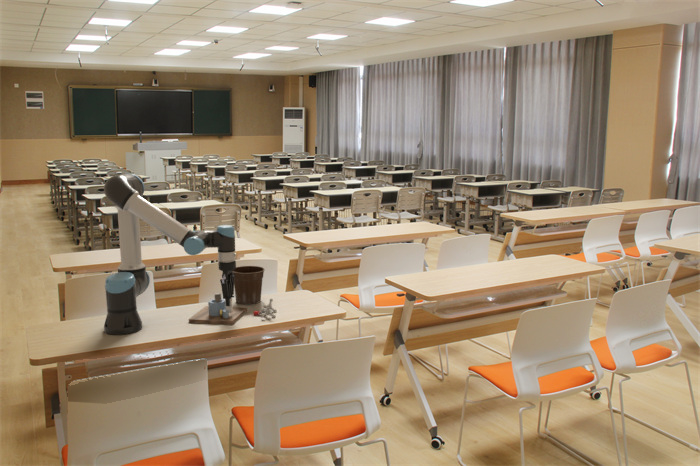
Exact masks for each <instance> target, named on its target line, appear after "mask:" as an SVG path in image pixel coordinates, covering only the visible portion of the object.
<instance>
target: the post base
mask: <svg viewBox="0 0 700 466" xmlns="http://www.w3.org/2000/svg"><path fill="white" fill-rule="evenodd" d="M213 297H214V299H215V302H222V300H221V299H222V292H221V293H220V292H217V293H216V292H215V293H214V296H213ZM232 308H233V312H232V313H229V318H223V317H222V318H220V316H211V315H209V306H208V305H205V306H204V307H202V308H201V309H200V310H199V311H198V312H196V313H194V314H193V316H191V317H190V318H189V319H188V323H191V324H193V323H195V324H213V325H217V324H218V325H234V324H235V323H236V322H237V321H238V320H239V319H240V318H241V317H242V316H243V315H244V314H246V312H247V311H248V310H247V309H248V307H237V306H232Z"/></svg>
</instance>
